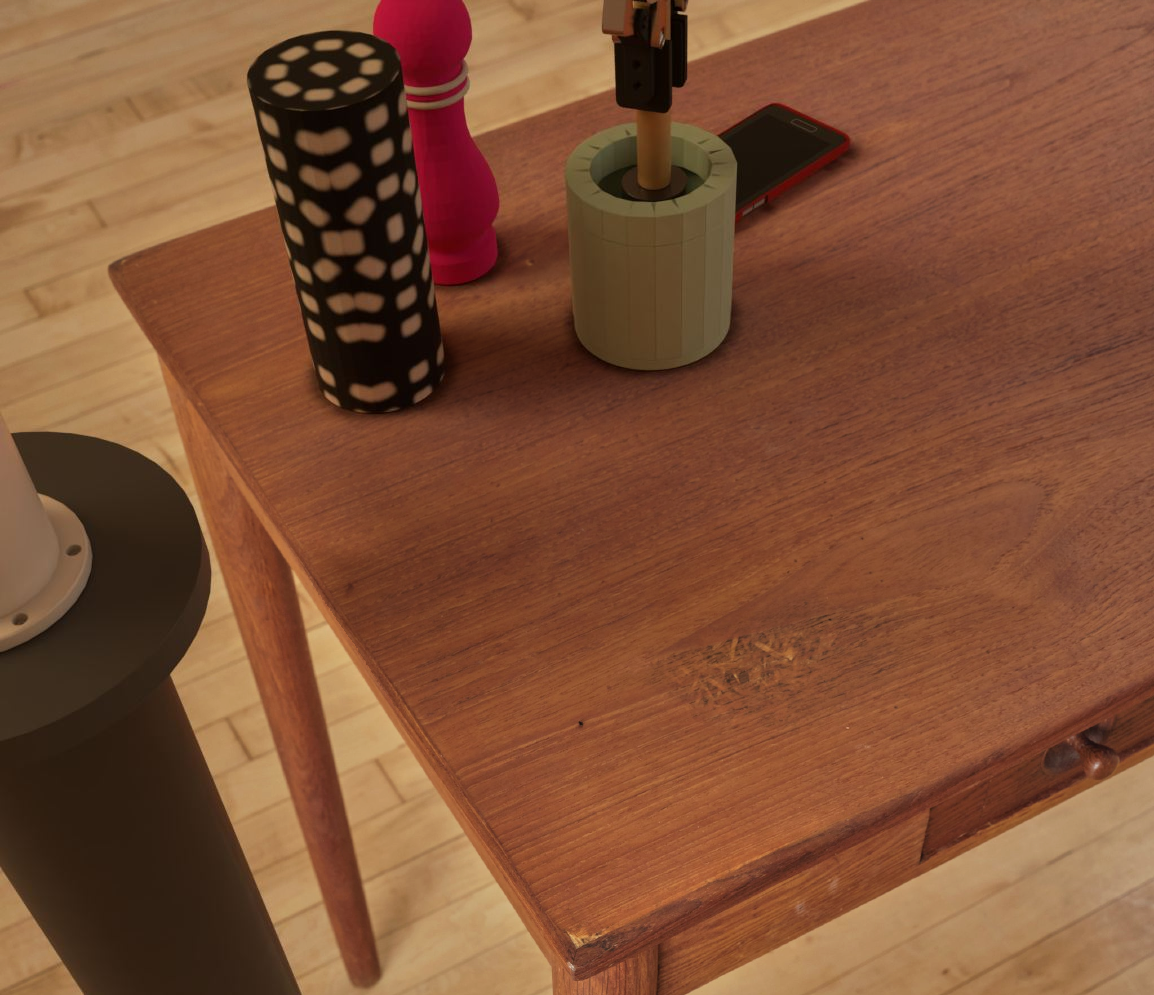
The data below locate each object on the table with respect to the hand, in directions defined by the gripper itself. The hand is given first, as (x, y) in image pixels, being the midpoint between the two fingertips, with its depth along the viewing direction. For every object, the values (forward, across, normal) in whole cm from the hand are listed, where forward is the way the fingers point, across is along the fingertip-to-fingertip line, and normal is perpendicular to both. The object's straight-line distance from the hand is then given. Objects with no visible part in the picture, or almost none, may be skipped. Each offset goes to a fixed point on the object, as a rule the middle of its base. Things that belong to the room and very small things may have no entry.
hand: (651, 92), depth 86 cm
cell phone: (+16, -18, +1) cm, 24 cm away
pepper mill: (+16, -2, -16) cm, 22 cm away
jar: (+16, 0, 0) cm, 16 cm away
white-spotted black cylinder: (+16, +10, -15) cm, 24 cm away
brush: (+11, 0, 0) cm, 11 cm away
